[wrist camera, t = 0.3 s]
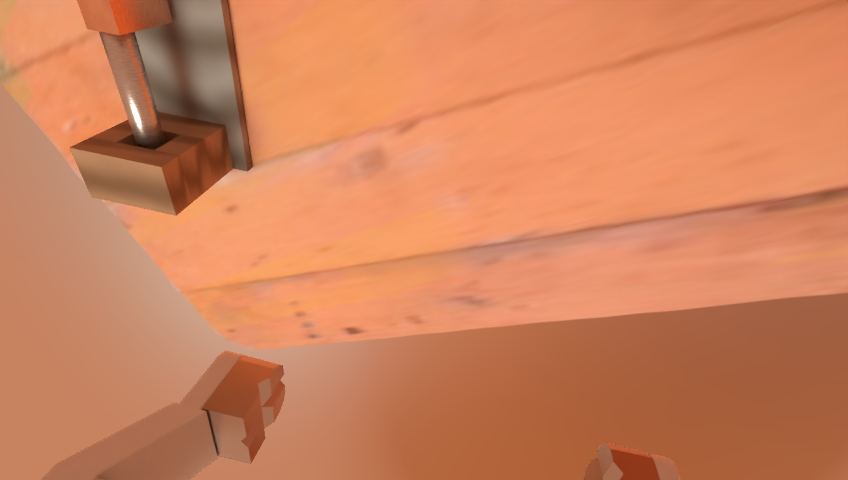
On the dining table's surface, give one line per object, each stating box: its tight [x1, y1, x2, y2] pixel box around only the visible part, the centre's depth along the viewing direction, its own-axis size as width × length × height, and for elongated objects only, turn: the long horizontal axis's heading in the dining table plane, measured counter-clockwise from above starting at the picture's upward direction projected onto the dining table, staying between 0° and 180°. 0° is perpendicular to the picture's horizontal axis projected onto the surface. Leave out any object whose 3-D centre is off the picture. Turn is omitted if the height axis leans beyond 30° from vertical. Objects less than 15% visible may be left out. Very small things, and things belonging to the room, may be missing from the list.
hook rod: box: [77, 0, 172, 150], centre depth 44 cm, size 21×3×7 cm, turn 172°
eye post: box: [70, 0, 252, 216], centre depth 39 cm, size 32×14×13 cm, turn 172°
